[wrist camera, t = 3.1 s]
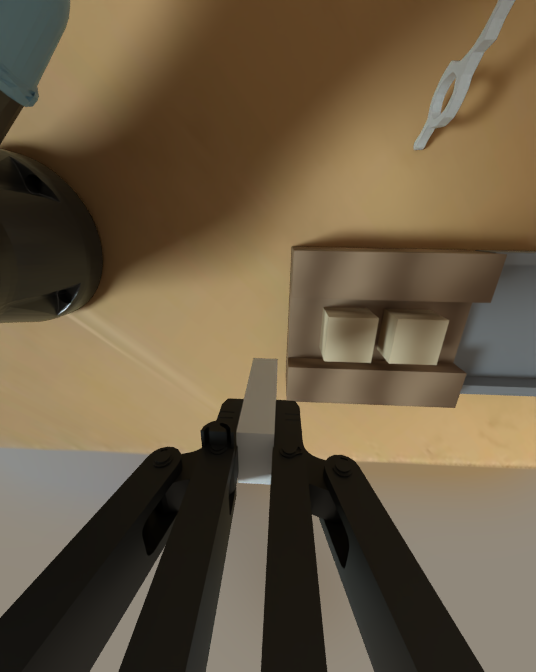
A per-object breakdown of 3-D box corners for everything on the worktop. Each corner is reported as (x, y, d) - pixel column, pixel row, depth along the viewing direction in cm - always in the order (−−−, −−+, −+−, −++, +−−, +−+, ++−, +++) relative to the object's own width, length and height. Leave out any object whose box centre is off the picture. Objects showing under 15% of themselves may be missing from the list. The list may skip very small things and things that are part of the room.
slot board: (285, 375, 30) (286, 401, 26) (291, 246, 25) (294, 250, 20) (427, 380, 30) (454, 407, 25) (464, 249, 24) (507, 254, 20)
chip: (376, 348, 25) (388, 363, 22) (384, 308, 24) (398, 319, 21) (419, 350, 25) (436, 365, 22) (429, 309, 24) (449, 320, 21)
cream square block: (319, 346, 25) (324, 361, 23) (323, 307, 24) (328, 317, 21) (361, 348, 25) (371, 362, 23) (367, 308, 24) (379, 318, 21)
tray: (436, 380, 30) (450, 393, 27) (475, 249, 24) (495, 252, 22) (566, 384, 29) (590, 398, 27) (634, 252, 24) (672, 255, 22)
